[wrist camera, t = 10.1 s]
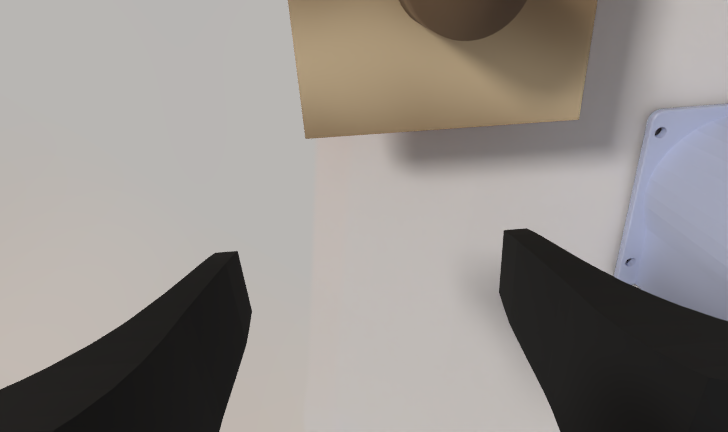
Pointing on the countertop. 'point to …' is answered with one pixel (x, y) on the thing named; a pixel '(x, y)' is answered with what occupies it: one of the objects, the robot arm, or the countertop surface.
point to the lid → (438, 63)
